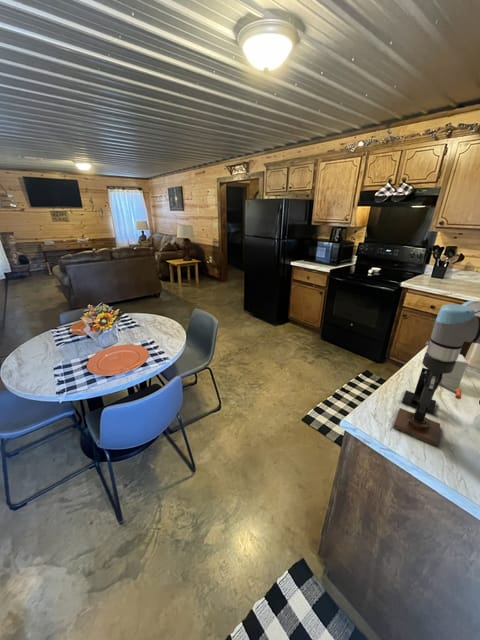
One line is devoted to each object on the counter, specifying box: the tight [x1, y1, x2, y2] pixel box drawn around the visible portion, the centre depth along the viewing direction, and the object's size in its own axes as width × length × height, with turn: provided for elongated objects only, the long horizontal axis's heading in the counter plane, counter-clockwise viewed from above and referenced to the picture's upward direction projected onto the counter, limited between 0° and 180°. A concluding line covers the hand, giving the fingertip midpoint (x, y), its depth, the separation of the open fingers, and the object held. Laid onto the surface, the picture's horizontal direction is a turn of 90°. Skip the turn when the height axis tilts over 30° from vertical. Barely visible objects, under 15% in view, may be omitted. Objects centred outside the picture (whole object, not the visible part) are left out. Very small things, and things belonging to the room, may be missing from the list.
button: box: [412, 416, 425, 424], centre depth 87 cm, size 4×4×2 cm
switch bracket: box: [401, 367, 437, 416], centre depth 97 cm, size 10×8×14 cm
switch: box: [424, 371, 463, 400], centre depth 93 cm, size 12×5×2 cm, turn 51°
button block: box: [392, 407, 441, 447], centre depth 87 cm, size 12×10×4 cm
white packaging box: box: [441, 354, 469, 390], centre depth 109 cm, size 7×7×13 cm
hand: (418, 418), depth 86 cm, fingers closed
